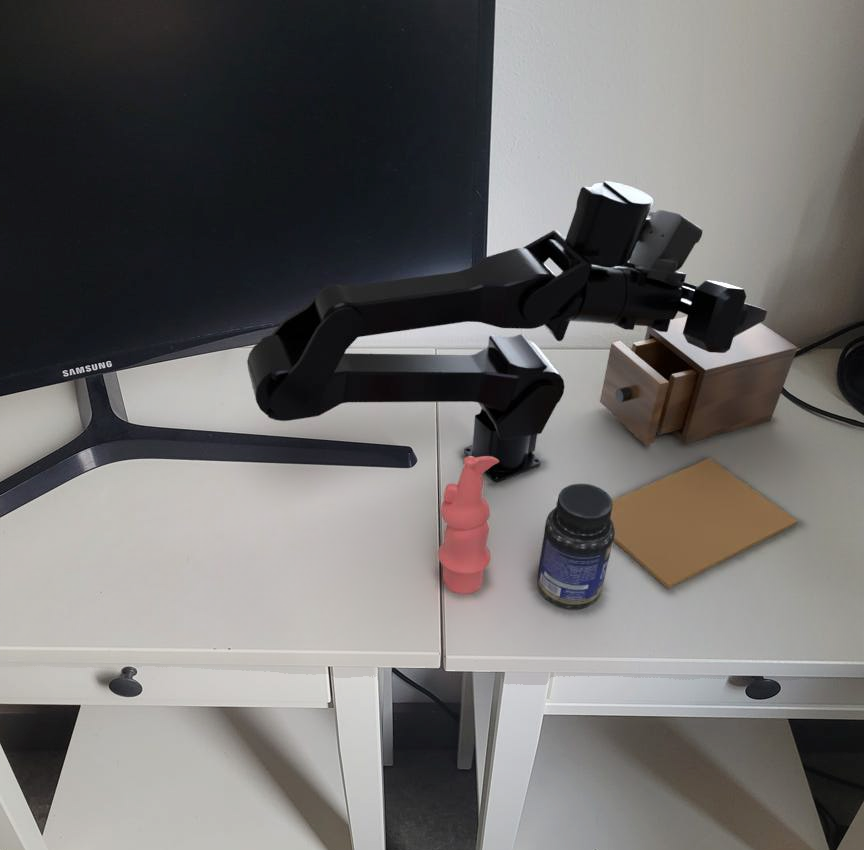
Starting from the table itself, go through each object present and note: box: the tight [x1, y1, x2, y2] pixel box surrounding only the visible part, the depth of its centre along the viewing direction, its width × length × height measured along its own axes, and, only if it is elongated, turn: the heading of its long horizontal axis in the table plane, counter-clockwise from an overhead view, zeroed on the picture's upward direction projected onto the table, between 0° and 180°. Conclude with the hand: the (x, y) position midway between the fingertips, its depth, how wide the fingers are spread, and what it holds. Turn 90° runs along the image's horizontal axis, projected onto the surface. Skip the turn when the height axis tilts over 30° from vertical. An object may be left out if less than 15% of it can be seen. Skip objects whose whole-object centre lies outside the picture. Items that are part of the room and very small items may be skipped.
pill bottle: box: [536, 483, 615, 610], centre depth 74 cm, size 6×6×11 cm
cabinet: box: [644, 316, 798, 445], centre depth 97 cm, size 13×11×10 cm
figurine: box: [437, 456, 499, 595], centre depth 74 cm, size 5×5×15 cm
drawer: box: [599, 338, 699, 446], centre depth 95 cm, size 13×9×8 cm
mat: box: [610, 458, 798, 590], centre depth 85 cm, size 18×12×1 cm, turn 120°
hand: (734, 304), depth 87 cm, fingers open, 9 cm apart
